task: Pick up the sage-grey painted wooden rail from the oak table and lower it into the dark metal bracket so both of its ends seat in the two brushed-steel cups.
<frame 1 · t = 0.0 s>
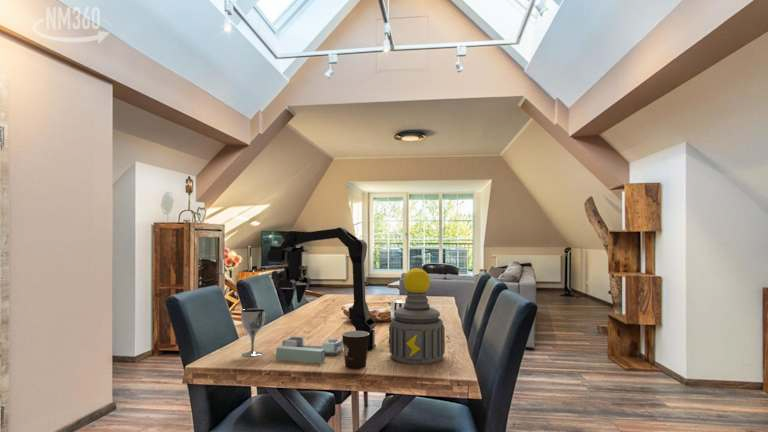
hand: (294, 304, 161), 15 cm above the table, tool pointing down, fingers open, 9 cm apart
coffee mug: (355, 365, 134), on the table
wine glass: (252, 354, 146), on the table
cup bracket: (312, 351, 149), on the table
rail: (300, 360, 139), on the table
beer glass: (399, 340, 167), on the table
decorative lamp: (416, 357, 143), on the table
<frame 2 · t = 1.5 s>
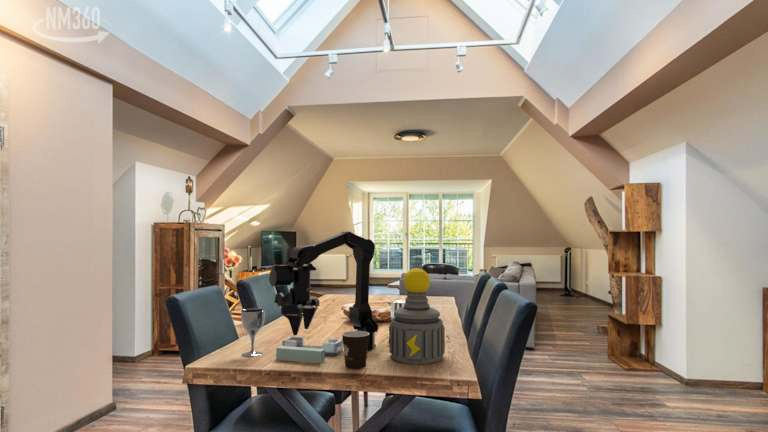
hand: (300, 332, 139), 9 cm above the table, tool pointing down, fingers open, 9 cm apart
nothing on the table moved.
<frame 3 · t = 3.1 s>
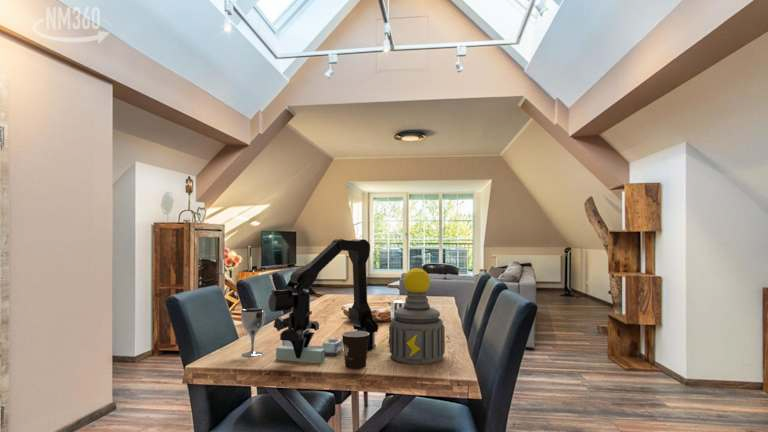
hand: (300, 356, 139), 1 cm above the table, tool pointing down, fingers closed on rail, 3 cm apart
rail: (300, 360, 139), on the table, touching gripper
everything else where it was.
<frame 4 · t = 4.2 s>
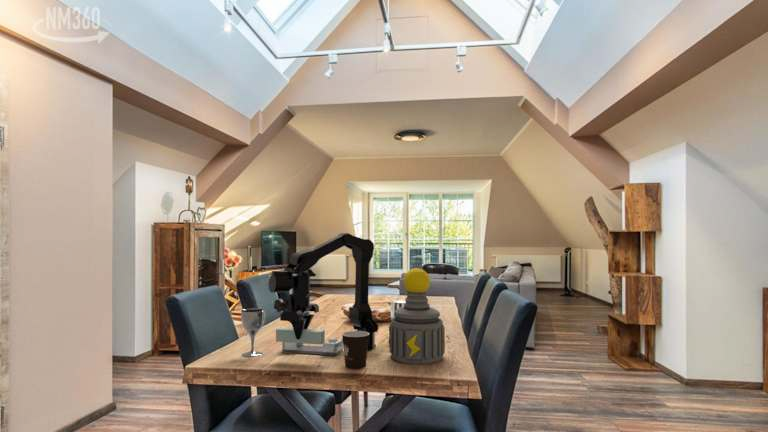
hand: (300, 338, 139), 7 cm above the table, tool pointing down, fingers closed on rail, 3 cm apart
rail: (300, 341, 139), point 6 cm above the table, touching gripper
everything else where it was.
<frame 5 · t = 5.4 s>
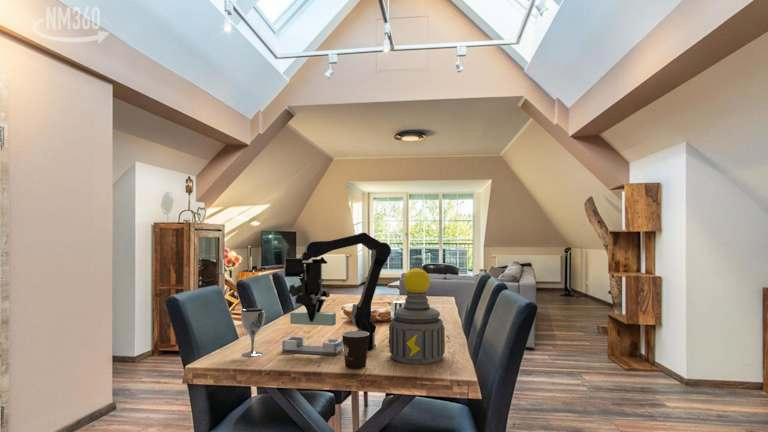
hand: (313, 320, 150), 11 cm above the table, tool pointing down, fingers closed on rail, 3 cm apart
rail: (312, 324, 150), point 10 cm above the table, touching gripper
everything else where it was.
when the fingers open (3 cm above the table, at t = 7.1 s): rail drops 1 cm, resting on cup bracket.
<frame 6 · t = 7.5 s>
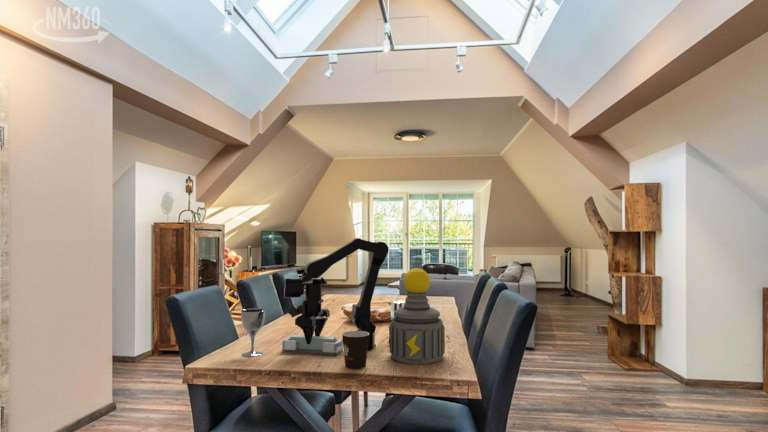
hand: (312, 341, 150), 3 cm above the table, tool pointing down, fingers open, 8 cm apart
rail: (312, 348, 150), point 1 cm above the table, touching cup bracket
everything else where it was.
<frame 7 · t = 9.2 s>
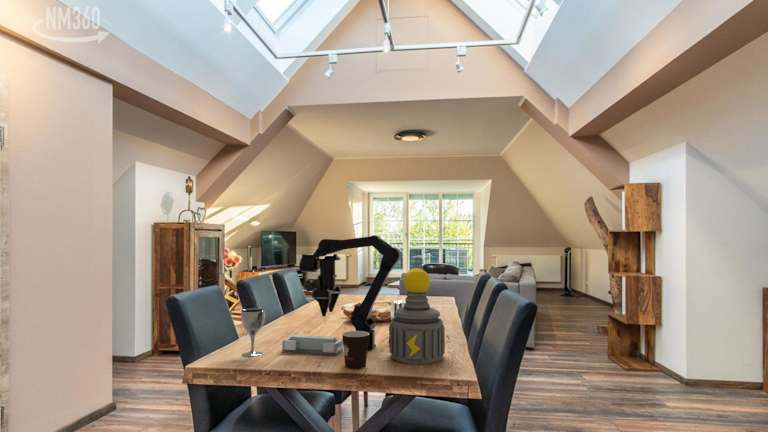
hand: (327, 314, 158), 12 cm above the table, tool pointing down, fingers open, 9 cm apart
nothing on the table moved.
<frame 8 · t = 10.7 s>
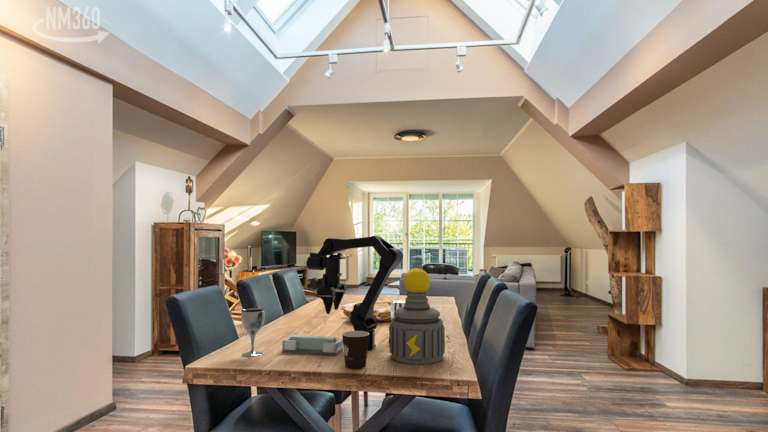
hand: (332, 311, 161), 12 cm above the table, tool pointing down, fingers open, 9 cm apart
nothing on the table moved.
at the end: rail 0.1 cm off-centre on the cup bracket, point 1.0 cm above the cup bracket's base; rail tilted 0°; the gripper is holding nothing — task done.
